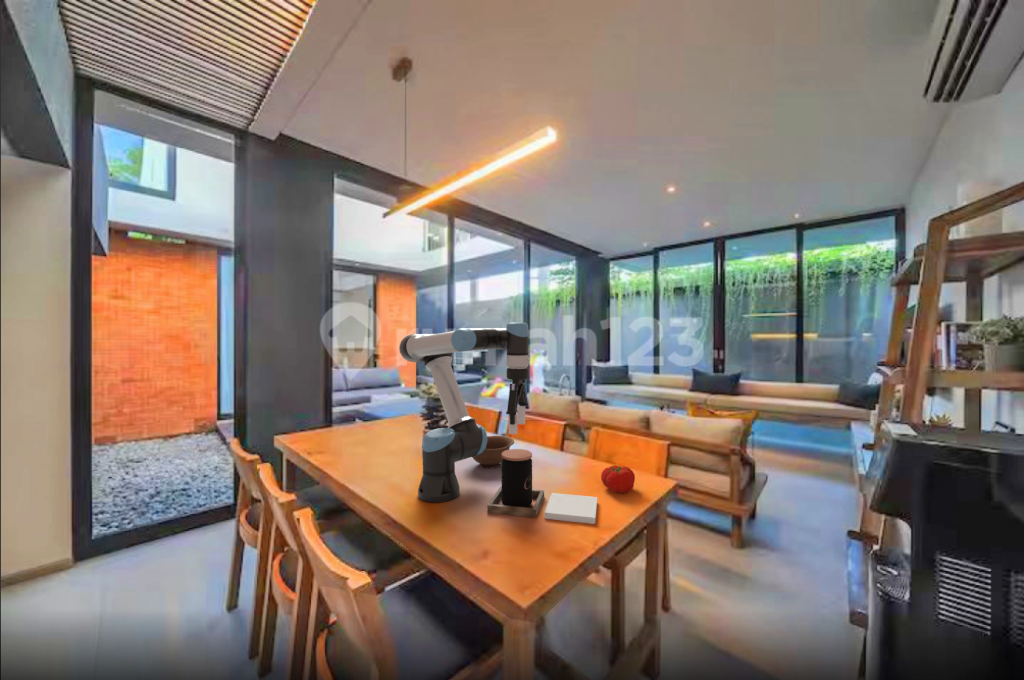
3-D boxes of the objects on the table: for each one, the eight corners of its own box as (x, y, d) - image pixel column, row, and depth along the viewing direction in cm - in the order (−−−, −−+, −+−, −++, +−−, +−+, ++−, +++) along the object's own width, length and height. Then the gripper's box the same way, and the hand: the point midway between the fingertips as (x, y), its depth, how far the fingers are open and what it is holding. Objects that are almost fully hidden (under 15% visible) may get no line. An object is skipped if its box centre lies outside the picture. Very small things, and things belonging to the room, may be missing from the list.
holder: (487, 512, 137) (487, 505, 137) (500, 493, 153) (500, 486, 153) (535, 517, 133) (535, 510, 133) (544, 497, 149) (544, 490, 149)
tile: (544, 518, 133) (544, 512, 133) (551, 498, 148) (551, 492, 148) (595, 524, 129) (595, 517, 129) (597, 502, 144) (597, 497, 144)
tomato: (608, 481, 165) (608, 459, 164) (640, 488, 157) (640, 465, 157) (594, 492, 153) (594, 469, 153) (627, 500, 146) (627, 476, 146)
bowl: (471, 456, 196) (471, 433, 196) (517, 458, 193) (517, 435, 193) (459, 472, 175) (459, 446, 174) (510, 475, 172) (510, 448, 171)
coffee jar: (529, 512, 137) (529, 459, 136) (498, 510, 139) (498, 457, 138) (534, 499, 147) (534, 449, 147) (505, 497, 149) (505, 448, 149)
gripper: (520, 371, 129) (520, 439, 130) (534, 364, 153) (534, 420, 154) (497, 371, 130) (497, 437, 131) (514, 363, 155) (514, 419, 155)
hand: (517, 428), depth 143 cm, fingers open, 13 cm apart
